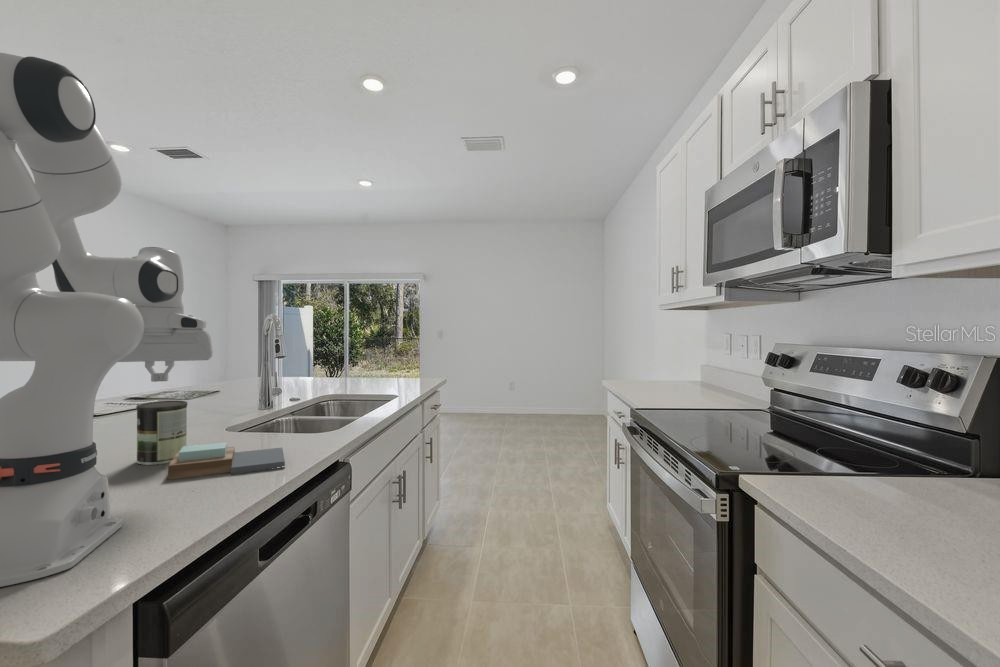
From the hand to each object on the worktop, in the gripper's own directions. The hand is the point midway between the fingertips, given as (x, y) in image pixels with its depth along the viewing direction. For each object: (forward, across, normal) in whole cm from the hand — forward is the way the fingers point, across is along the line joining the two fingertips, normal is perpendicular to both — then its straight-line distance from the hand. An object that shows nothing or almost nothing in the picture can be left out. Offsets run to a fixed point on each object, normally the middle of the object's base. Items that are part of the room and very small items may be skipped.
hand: (159, 381), depth 102 cm
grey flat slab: (+21, +20, -1) cm, 29 cm away
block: (+18, +8, 0) cm, 20 cm away
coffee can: (+21, -2, +13) cm, 25 cm away
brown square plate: (+21, +8, 0) cm, 23 cm away
